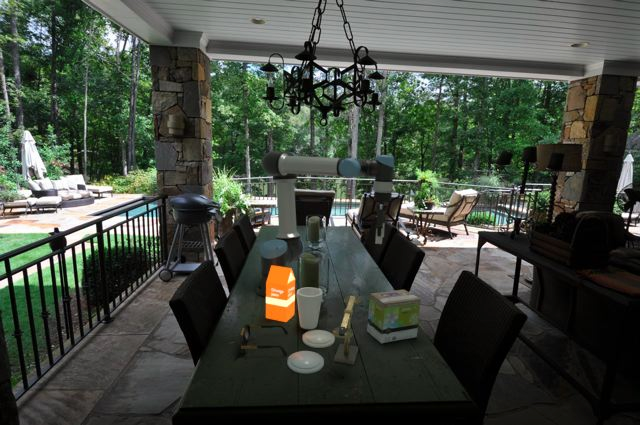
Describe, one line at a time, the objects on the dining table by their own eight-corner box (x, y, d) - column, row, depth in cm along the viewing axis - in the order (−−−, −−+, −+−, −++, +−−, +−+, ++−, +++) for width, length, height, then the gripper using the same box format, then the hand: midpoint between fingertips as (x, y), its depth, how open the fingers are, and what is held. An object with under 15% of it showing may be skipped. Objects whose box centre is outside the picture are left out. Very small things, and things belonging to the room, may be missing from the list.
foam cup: (318, 332, 129) (319, 298, 127) (293, 329, 130) (293, 295, 128) (323, 321, 138) (324, 288, 136) (299, 318, 140) (300, 286, 138)
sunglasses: (287, 356, 113) (287, 341, 112) (237, 357, 112) (237, 341, 111) (287, 335, 127) (288, 321, 126) (244, 335, 126) (244, 321, 125)
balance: (343, 338, 125) (345, 291, 123) (360, 340, 124) (363, 293, 121) (329, 373, 105) (331, 317, 102) (349, 376, 103) (352, 320, 101)
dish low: (282, 369, 105) (282, 365, 105) (294, 350, 116) (294, 347, 116) (318, 376, 103) (318, 372, 103) (327, 356, 113) (327, 353, 113)
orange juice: (286, 322, 136) (287, 271, 133) (265, 318, 139) (266, 267, 136) (294, 314, 143) (296, 265, 140) (274, 310, 146) (275, 262, 143)
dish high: (298, 344, 120) (298, 341, 120) (307, 329, 130) (307, 326, 130) (330, 350, 117) (330, 346, 117) (337, 334, 128) (337, 331, 127)
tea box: (382, 345, 122) (384, 303, 119) (366, 331, 131) (368, 292, 129) (418, 337, 128) (421, 297, 125) (400, 325, 137) (403, 287, 135)
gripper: (390, 194, 141) (387, 247, 145) (392, 189, 165) (389, 235, 169) (371, 193, 143) (368, 245, 146) (376, 188, 167) (373, 233, 170)
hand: (379, 240), depth 157 cm, fingers open, 13 cm apart
